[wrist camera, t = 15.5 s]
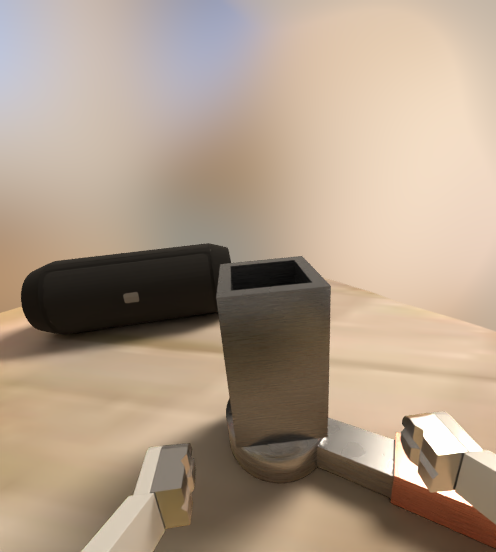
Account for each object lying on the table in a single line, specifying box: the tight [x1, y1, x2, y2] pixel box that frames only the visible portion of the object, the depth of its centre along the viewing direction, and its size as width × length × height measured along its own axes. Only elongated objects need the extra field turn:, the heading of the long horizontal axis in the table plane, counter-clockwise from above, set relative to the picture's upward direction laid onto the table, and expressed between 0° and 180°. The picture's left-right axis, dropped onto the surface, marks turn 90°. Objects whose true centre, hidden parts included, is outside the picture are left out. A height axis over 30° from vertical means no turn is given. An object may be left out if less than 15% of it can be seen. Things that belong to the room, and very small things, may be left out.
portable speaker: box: [21, 244, 231, 334], centre depth 38 cm, size 26×10×10 cm, turn 99°
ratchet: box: [226, 398, 496, 549], centre depth 16 cm, size 7×18×6 cm, turn 61°
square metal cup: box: [216, 256, 331, 448], centre depth 17 cm, size 6×6×10 cm
